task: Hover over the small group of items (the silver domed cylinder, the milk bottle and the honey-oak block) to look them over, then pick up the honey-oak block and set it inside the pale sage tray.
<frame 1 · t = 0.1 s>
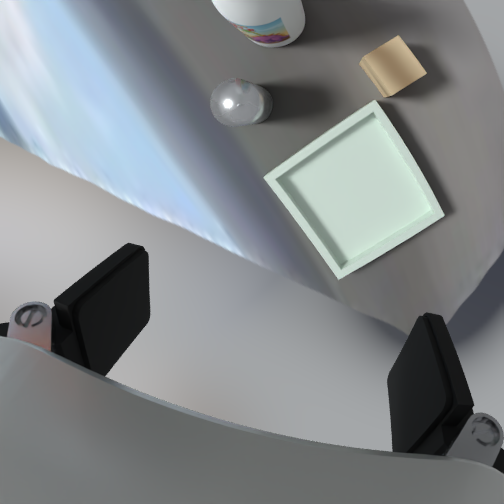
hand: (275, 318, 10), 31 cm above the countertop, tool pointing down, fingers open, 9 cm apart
sage tray: (356, 190, 38), on the countertop
oak block: (387, 70, 31), on the countertop
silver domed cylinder: (252, 104, 37), on the countertop
milk bottle: (274, 21, 32), on the countertop
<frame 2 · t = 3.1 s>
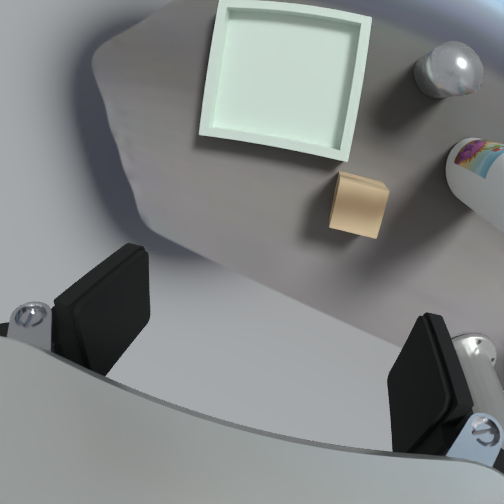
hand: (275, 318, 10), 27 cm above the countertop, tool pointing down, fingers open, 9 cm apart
sage tray: (286, 74, 31), on the countertop
oak block: (355, 197, 35), on the countertop
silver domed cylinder: (434, 76, 27), on the countertop
milk bottle: (471, 170, 30), on the countertop
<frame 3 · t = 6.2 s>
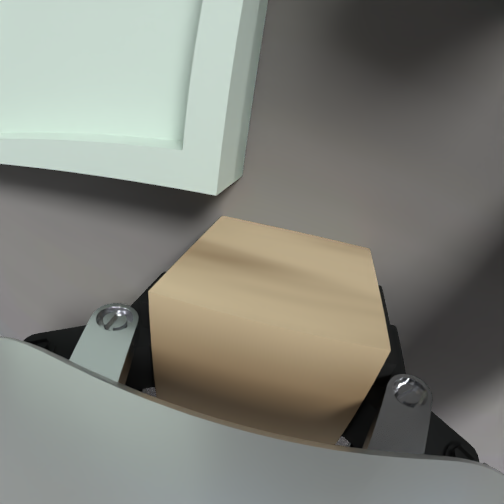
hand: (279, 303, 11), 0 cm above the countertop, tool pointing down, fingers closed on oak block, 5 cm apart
oak block: (281, 295, 12), on the countertop, touching gripper
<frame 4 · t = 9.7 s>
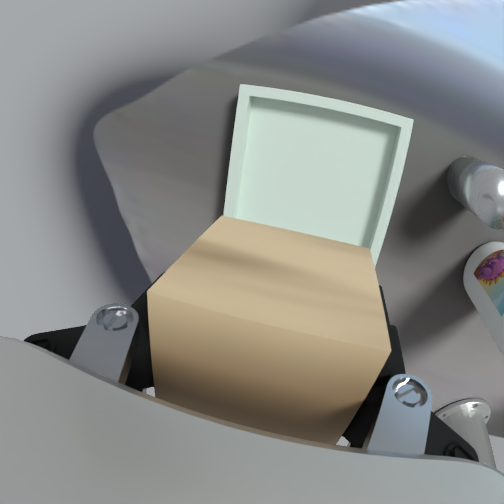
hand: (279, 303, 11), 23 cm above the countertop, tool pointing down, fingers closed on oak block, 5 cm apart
sage tray: (313, 177, 31), on the countertop
oak block: (281, 295, 12), point 22 cm above the countertop, touching gripper
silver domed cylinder: (466, 179, 27), on the countertop
milk bottle: (488, 269, 30), on the countertop
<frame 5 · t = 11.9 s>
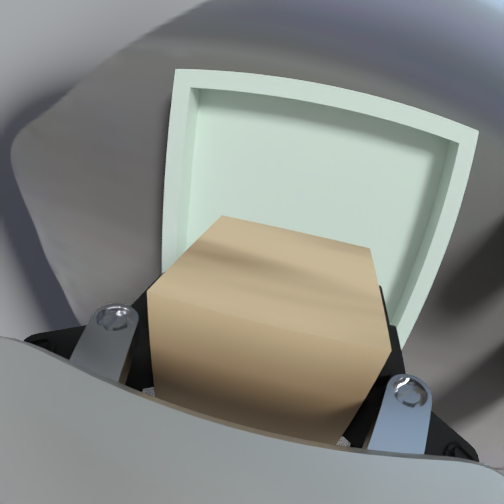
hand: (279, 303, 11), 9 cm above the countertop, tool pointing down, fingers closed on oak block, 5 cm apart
sage tray: (304, 223, 19), on the countertop
oak block: (281, 295, 12), point 9 cm above the countertop, touching gripper
when the fingers open (3 cm above the countertop, at t = 13.6 s): oak block drops 2 cm, resting on sage tray.
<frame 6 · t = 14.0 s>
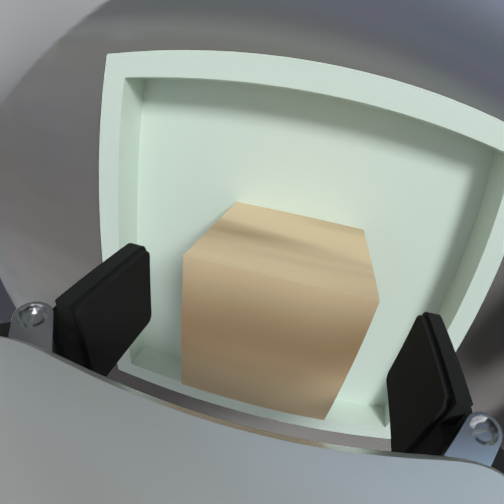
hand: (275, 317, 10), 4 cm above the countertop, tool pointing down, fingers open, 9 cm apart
sage tray: (291, 261, 14), on the countertop
oak block: (287, 272, 13), point 1 cm above the countertop, touching sage tray
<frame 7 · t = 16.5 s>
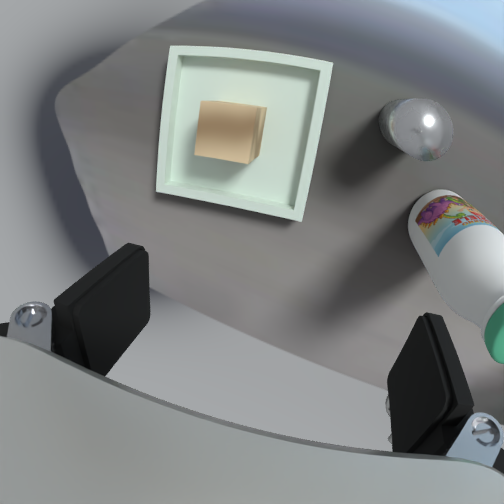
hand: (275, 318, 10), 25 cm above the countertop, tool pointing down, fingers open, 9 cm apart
sage tray: (241, 126, 32), on the countertop
oak block: (238, 127, 31), point 1 cm above the countertop, touching sage tray
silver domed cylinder: (402, 123, 28), on the countertop
milk bottle: (437, 221, 31), on the countertop
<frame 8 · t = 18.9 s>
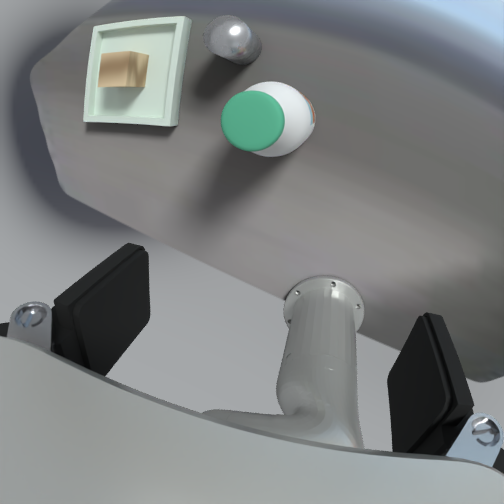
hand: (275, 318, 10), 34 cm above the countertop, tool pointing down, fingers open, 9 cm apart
sage tray: (136, 71, 40), on the countertop
oak block: (132, 71, 40), point 1 cm above the countertop, touching sage tray
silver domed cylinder: (243, 47, 36), on the countertop
milk bottle: (286, 117, 39), on the countertop
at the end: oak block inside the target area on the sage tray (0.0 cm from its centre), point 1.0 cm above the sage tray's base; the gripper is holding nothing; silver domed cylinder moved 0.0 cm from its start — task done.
